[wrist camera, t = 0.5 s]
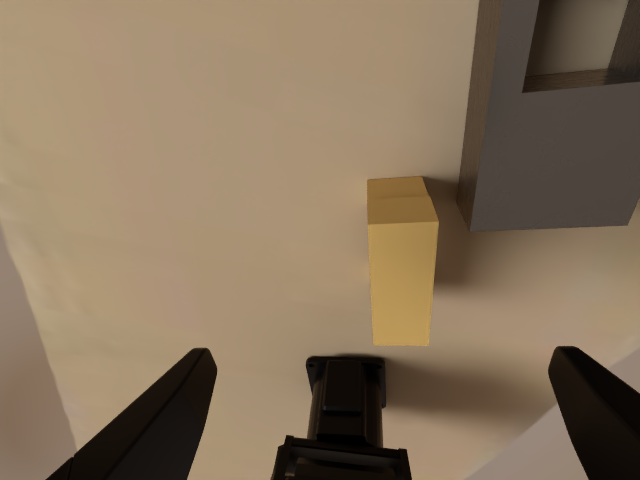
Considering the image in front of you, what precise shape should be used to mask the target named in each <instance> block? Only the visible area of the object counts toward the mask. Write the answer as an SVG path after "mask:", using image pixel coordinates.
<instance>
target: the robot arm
mask: <svg viewBox="0 0 640 480" xmlns="http://www.w3.org/2000/svg"><path fill="white" fill-rule="evenodd" d="M306 369H307V373H308V378H309V382H310V387H311V391H312V404H311V411H310V419H309V426H308V434H307V439H304V438H296V437H294V436H291V435H286V439H285V443H284V445H281V446H279V447H278V451H277V456H276V461H275V466H274V470H273V474H272V477H271V480H412V477H411V472H410V466H409V460H408V455H407V449H401V448H399V449H398V450H397V449H389V448H383V429H382V408H385V407H386V386H385V362H384V361H383V360H382V359H361V358H308V359H307V360H306ZM548 374H549V378H550V381H551V384H552V387H553V390H554V393H555V396H556V399H557V402H558V405H559V408H560V411H561V413H562V416H563V419H564V422H565V425H566V428H567V431H568V434H569V436H570V439H571V442H572V444H573V446H574V449H575V451H576V453H577V455H578V457H579V460H580V462H581V464H582V466H583V468H584V470H585V472H586V475H587V477H588V479H589V480H640V393H638V392H637V391H636V390H634V389H633V388H632V387H630V386H629V385H628V384H626V383H625V382H624V381H622V380H621V379H619V378H618V377H617V376H616V375H614V374H613V373H611V372H610V371H609V370H607V369H606V368H605V367H603V366H602V365H601V364H599V363H598V362H597V361H595V360H594V359H593V358H591V357H590V356H589V355H587V354H586V353H584V352H583V351H582V350H580V349H579V348H577V347H574V346H558V347H556V348H555V350H554V352H553V355H552V358H551V361H550V364H549V368H548ZM216 376H217V366H216V364H215V361H214V359H213V357H212V355H211V352H210V350H209V349H208V348H194V349H192V350H191V351H190V352H188V353H187V354H186V355H185V356H184V357H183V358H182V359H181V360H179V361H178V362H177V363H176V364H175V365H174V366H173V367H172V368H171V369H169V370H168V371H167V372H166V373H165V374H164V375H163V376H162V377H160V378H159V379H158V380H157V381H156V382H155V383H154V384H153V385H151V386H150V387H149V388H148V389H147V390H146V391H145V392H144V393H143V394H141V395H140V396H139V397H138V398H137V399H136V400H135V401H134V402H132V403H131V404H130V405H129V406H128V407H127V408H126V409H125V410H123V411H122V412H121V413H120V414H119V415H118V416H117V417H116V418H115V419H113V420H112V421H111V422H110V423H109V424H108V425H107V426H106V427H104V428H103V429H102V430H101V431H100V432H99V433H98V434H97V435H95V436H94V437H93V438H92V439H91V440H90V441H89V442H88V443H86V444H85V445H84V446H83V447H82V448H81V449H80V450H79V451H78V452H76V453H75V455H74V457H71V458H70V459H68V460H67V461H66V462H65V463H64V464H63V465H62V466H61V467H60V468H58V469H57V470H56V471H55V472H54V473H53V474H51V475H50V476H49V477H48V478H47V479H46V480H187V478H188V475H189V472H190V469H191V466H192V463H193V460H194V457H195V454H196V451H197V448H198V445H199V442H200V439H201V436H202V433H203V430H204V427H205V423H206V419H207V415H208V410H209V406H210V402H211V397H212V393H213V389H214V385H215V380H216Z"/></svg>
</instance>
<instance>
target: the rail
mask: <svg viewBox="0 0 640 480" xmlns="http://www.w3.org/2000/svg"><path fill="white" fill-rule="evenodd" d="M539 1H540V0H480V1H479V9H478V18H477V27H476V36H475V45H474V54H473V63H472V71H471V80H470V89H469V98H468V107H467V116H466V125H465V133H464V142H463V151H462V160H461V169H460V178H459V187H458V195H457V205H458V207H459V210H460V212H461V214H462V216H463V218H464V220H465V222H466V225H467V227H468V229H469V231H470V232H473V231H498V230H524V229H549V228H574V227H599V226H624V225H628V223H629V220H630V218H631V216H632V213H633V211H634V209H635V207H636V204H637V202H638V200H639V197H640V0H629V2H628V5H627V9H626V12H625V15H624V18H623V22H622V25H621V28H620V31H619V34H618V38H617V41H616V44H615V47H614V51H613V54H612V57H611V60H610V64H609V67H608V69H598V70H588V71H579V72H569V73H559V74H550V75H540V76H530V77H525V74H526V68H527V63H528V58H529V53H530V48H531V42H532V37H533V32H534V27H535V21H536V16H537V11H538V6H539Z"/></svg>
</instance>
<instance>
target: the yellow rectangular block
mask: <svg viewBox="0 0 640 480" xmlns="http://www.w3.org/2000/svg"><path fill="white" fill-rule="evenodd" d="M367 212H368V242H369V262H370V283H371V303H372V324H373V344H374V345H403V346H428V345H429V333H430V321H431V309H432V297H433V285H434V273H435V261H436V249H437V237H438V225H439V221H438V218H437V215H436V212H435V209H434V206H433V203H432V200H431V197H430V196H428V193H427V190H426V187H425V184H424V181H423V178H422V176H419V177H403V178H388V179H373V180H367Z"/></svg>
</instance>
